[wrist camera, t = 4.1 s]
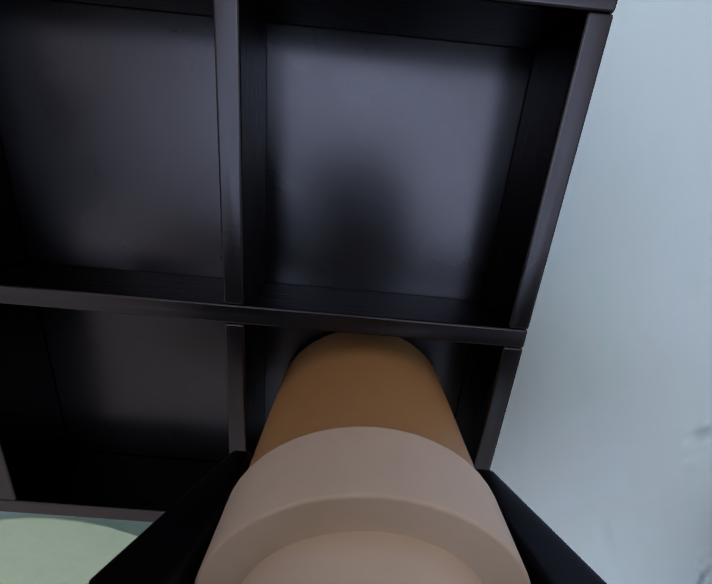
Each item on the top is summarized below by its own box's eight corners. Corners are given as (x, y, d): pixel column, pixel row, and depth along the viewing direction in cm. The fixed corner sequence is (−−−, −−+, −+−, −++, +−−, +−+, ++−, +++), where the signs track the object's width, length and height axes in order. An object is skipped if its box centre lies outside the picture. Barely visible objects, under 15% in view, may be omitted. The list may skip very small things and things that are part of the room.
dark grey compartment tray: (449, 479, 13) (469, 546, 11) (-120, 435, 12) (-232, 495, 10) (550, 35, 8) (625, -21, 6) (-332, -56, 8) (-625, -156, 6)
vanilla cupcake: (431, 474, 12) (550, 962, 4) (274, 462, 12) (130, 940, 4) (460, 331, 10) (733, 741, 3) (277, 315, 10) (44, 698, 3)
